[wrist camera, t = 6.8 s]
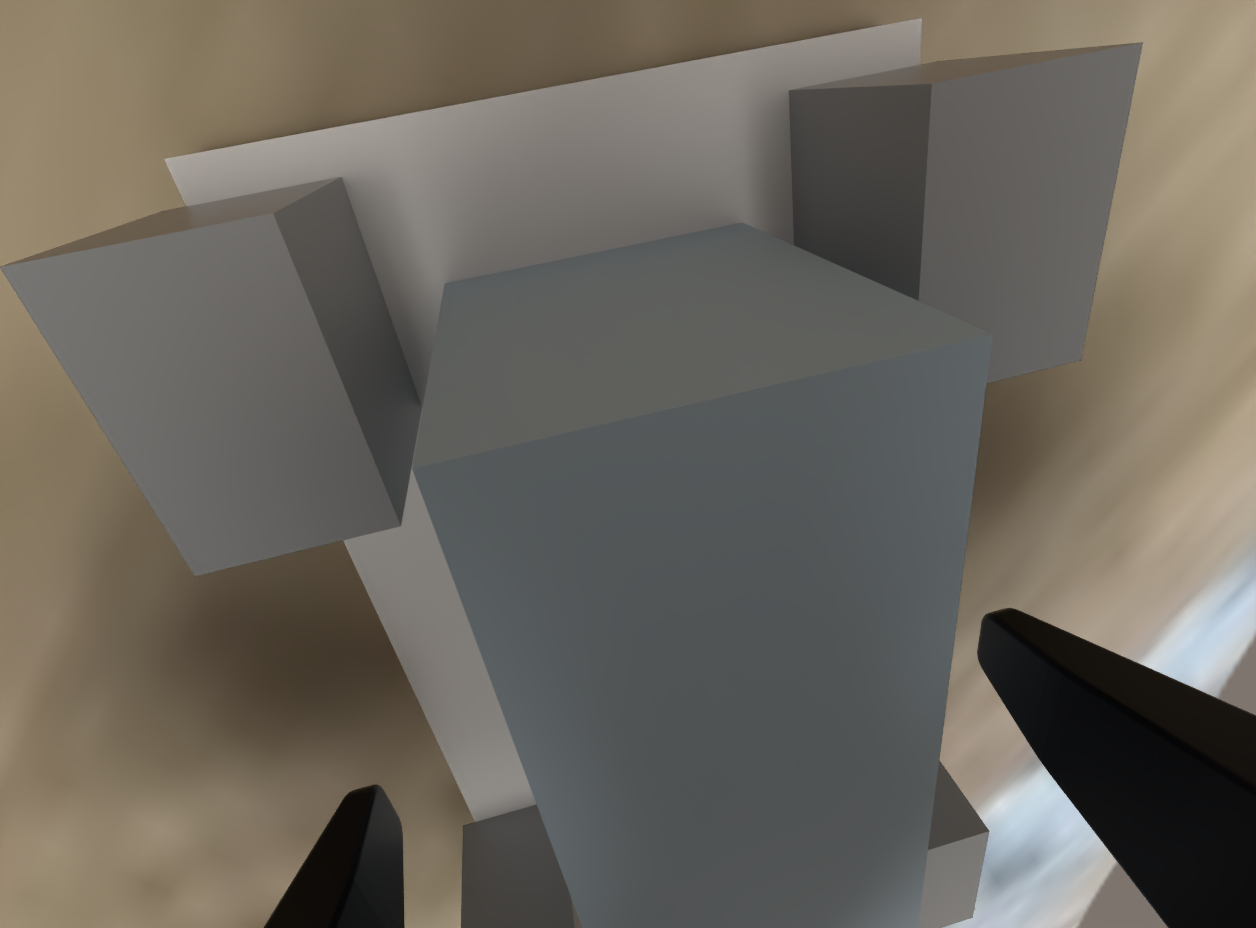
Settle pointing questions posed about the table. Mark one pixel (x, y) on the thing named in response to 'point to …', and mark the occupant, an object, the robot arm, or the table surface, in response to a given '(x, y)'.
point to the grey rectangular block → (712, 567)
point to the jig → (534, 234)
